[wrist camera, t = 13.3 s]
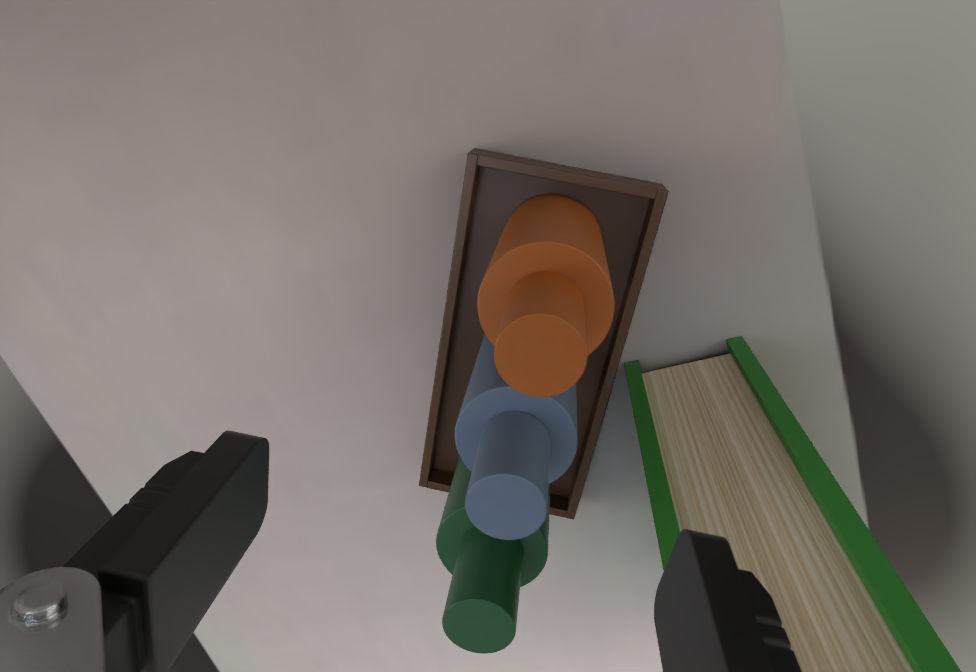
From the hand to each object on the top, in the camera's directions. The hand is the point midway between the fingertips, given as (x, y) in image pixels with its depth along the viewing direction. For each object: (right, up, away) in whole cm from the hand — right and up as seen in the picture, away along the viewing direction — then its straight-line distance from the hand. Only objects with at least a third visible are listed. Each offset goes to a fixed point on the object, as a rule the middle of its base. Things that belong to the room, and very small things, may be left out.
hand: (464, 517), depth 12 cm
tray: (+3, +3, +28) cm, 29 cm away
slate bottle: (+3, +3, +28) cm, 28 cm away
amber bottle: (+4, +9, +25) cm, 27 cm away
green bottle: (+2, -4, +31) cm, 31 cm away
